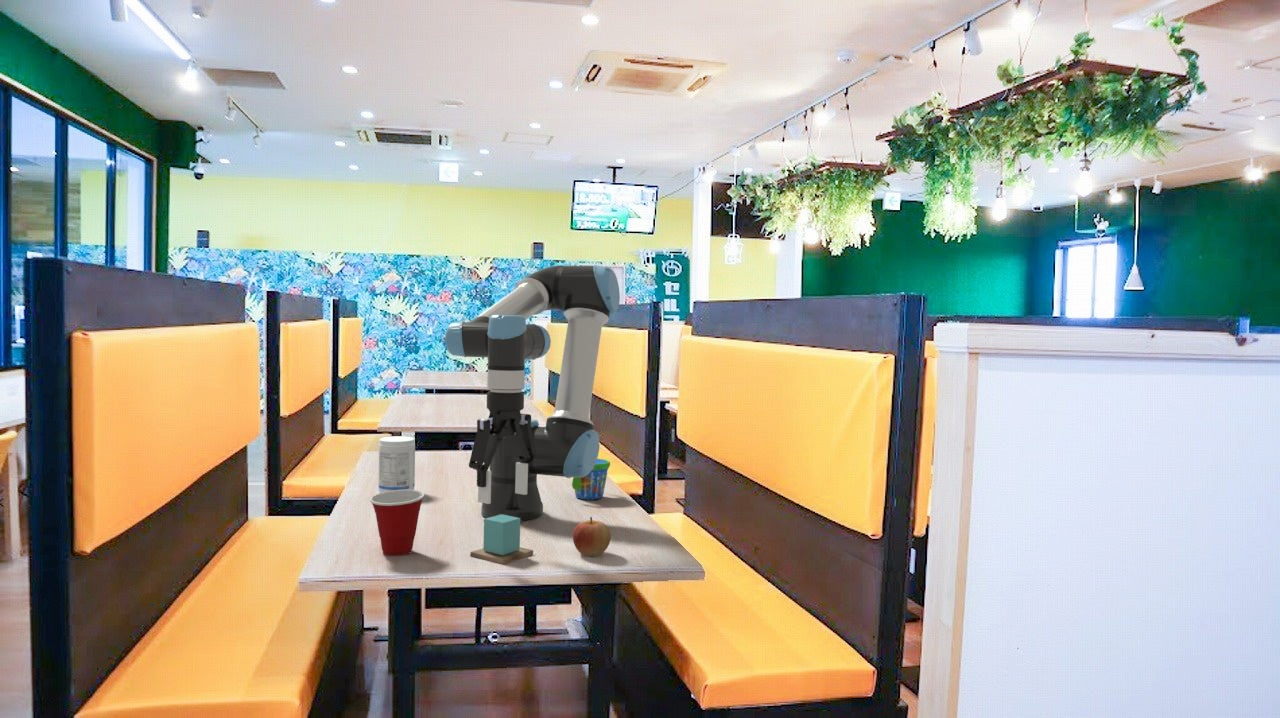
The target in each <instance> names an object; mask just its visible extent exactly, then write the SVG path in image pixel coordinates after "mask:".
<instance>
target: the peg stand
mask: <svg viewBox="0 0 1280 718" xmlns="http://www.w3.org/2000/svg"><path fill="white" fill-rule="evenodd" d="M483 548H484V547H482V548H479V549H475V550H473V551H470V553H469V556H470V557H474V558H478V559H482V560H485V561H490V562H493V563H498V564H502V565H505V564H508V563H511V562H514V561H517V560H520V559H523V558H525V557H529V556H532V555H533V554H534V550H533V549H528V548H525V547H521V546H520V550H517V551H514V552H511V553H508V554H505V555H499V554H495V553H491V552H486V551H483Z"/></svg>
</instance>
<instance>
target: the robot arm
mask: <svg viewBox="0 0 1280 718" xmlns="http://www.w3.org/2000/svg"><path fill="white" fill-rule="evenodd" d="M620 295H621V292H620V286H619V281H618V278H617V276H616V273H615V271H614V269H612V268H611V267H609V266H603V265H601V266H600V265H596V264H594V265H561V264H560V265H552V266H548V267H545V268H542V269H539V270H537V271H535V272H533V273H530V274H528V275H527V276H525V277H524V278H522V279H521V280H519V281H518V282H517V283H516V284H515V285H514V288H513V290H512V291H511V292H509V293H508V294H507V295H505V296H504V297H502V298H501V299H500V300H498V301H497V302H495V303H494V304H492V305H491V306H490V307H488V308H486V309H485V310H484V311H483V312H481V313H479V315H477V316H476V317H475V318H473V319H471V320H470V321H467V322H466V321H455V322H451V323H450V324H449V325H448V327H447V329H446V331H445V334H444V336H445V337H444V342H445V346H446V349H447V351H448V353H449V354H451V355H453V356H456V357H464V358H486V359H487V376H486V377H487V378H486V379H487V380H486V381H487V382H486V383H487V385H486V388H487V389H489V391H488V392H486V409H487V410H488V411H489V415H488V418H477V421H476V433H475V439H474V441H473V446H472V450H471V454H470V459H469V463H468V467H469V468H470V469H473V470H475V471H476V486H477V489H478V490H477V491H478V492H477V503H481V512H480V513H481V517H482V516H483V517H484V518H485V519H486V518H489V517H493V516H497V515H501V514H503V515H507V516H512V517H517V518H520V521H527V520H528V521H529V520H533V519H537V518H540V517H542V516H543V515H544V503H543V502H542V499H541V495H540V490H539V487H538V480H537V479H538V475H541V476H551V477H552V476H553V477H563V478H564V477H565V478H567V479H571V478H573V477H575V478H582V477H585V476H587V475H588V474H589V473H590V472H591V470H592V469H593V467H594V465H595V463H596V460H597V459H598V456H599V452H600V446H601V445H600V435H599V433H598V431H596V430H595V429H594V427H595V425H594V423H593V421H592V420H591V419H590V412H591V411H590V410H591V405H592V404H591V403H592V398H593V390H594V384H595V376H596V370H597V363H598V356H599V350H600V349H599V348H600V341H601V335H602V329H603V328H602V327H603V326H604V325H606V324H607V323H608V322H609V319H610V315H611V313H612V314H613V313H616V312H617V311H618V310H619V307H620V301H621V300H620V299H621V296H620ZM545 311H561V312H562V311H563V316H564V317H565V319H566V320H567V321H568V322H567V327H566V334H565V340H564V347H563V352H562V353H563V354H562V360H561V367H560V372H559V379H558V380H559V381H558V385H557V393H556V398H555V405H554V412H553V413H552V414H551V415H549V416H547V418H546V421H545V426H540V423H539V421H538V420H537V419H532V415H531V414H530V413H529V414H528V413H522V412H521V411H522V410H524V408H525V393H524V392H523V391H522V390H524V389H526V388H525V384H526V382H525V375H526V373H525V372H526V371H525V370H526V368H525V365H526V360H532V361H533V360H536V359H540V358H543V357H544V356H545V355H546V354H547V353H548V351H549V350H550V348H551V340H552V339H551V336H550V333H549V332H548V330H547V329H546V328H545V327H544V326H542V325H540V324H536V323H528V324H526V323H527V320H528V319H529V318H530V317H532V316H536V315H540V314H542V313H543V312H545Z"/></svg>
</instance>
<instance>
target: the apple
mask: <svg viewBox="0 0 1280 718" xmlns="http://www.w3.org/2000/svg"><path fill="white" fill-rule="evenodd" d="M611 536H612V534H611V530H610V528H609V527H608V525H607V524H606V523H604V522H602V521H599V520H594V519H593V517H592V516H590V517H589V519H587V520H585V521H583V522H580V523H578V524H577V525H576V526H575V528H574V530H573V532H572V539H573V544H574V547H575V549H576V551H578V552H579V554H581V555H583V556H588V557H596V556H600V555H601V554H603V553H604V552H605V551H607V549H608V547H609V545H610V543H611Z"/></svg>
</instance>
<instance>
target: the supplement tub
mask: <svg viewBox="0 0 1280 718" xmlns="http://www.w3.org/2000/svg"><path fill="white" fill-rule="evenodd" d="M378 443H379V444H378V492H379V493H383V492H387V491H393V490H415V477H416V474H415V473H416V472H415V469H416V443H415V438H414V437H412V436H405V435H404V436H403V435H402V436H401V435H400V436H398V435H397V436H395V435H393V436H384V437H381V438H379V442H378Z"/></svg>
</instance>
